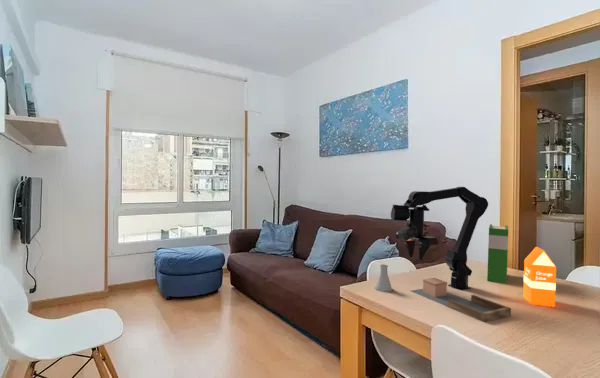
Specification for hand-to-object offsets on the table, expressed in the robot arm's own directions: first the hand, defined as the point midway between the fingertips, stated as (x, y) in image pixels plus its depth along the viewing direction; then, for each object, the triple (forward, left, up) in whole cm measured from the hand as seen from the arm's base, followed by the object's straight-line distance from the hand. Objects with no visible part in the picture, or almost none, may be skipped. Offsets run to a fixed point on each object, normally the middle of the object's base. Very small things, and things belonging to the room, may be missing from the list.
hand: (415, 258), depth 139 cm
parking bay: (0, +29, -12) cm, 31 cm away
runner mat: (0, +20, -12) cm, 23 cm away
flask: (+15, -2, -12) cm, 19 cm away
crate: (0, +10, -12) cm, 16 cm away
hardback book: (-47, +4, -12) cm, 49 cm away
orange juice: (-31, +31, -12) cm, 45 cm away
